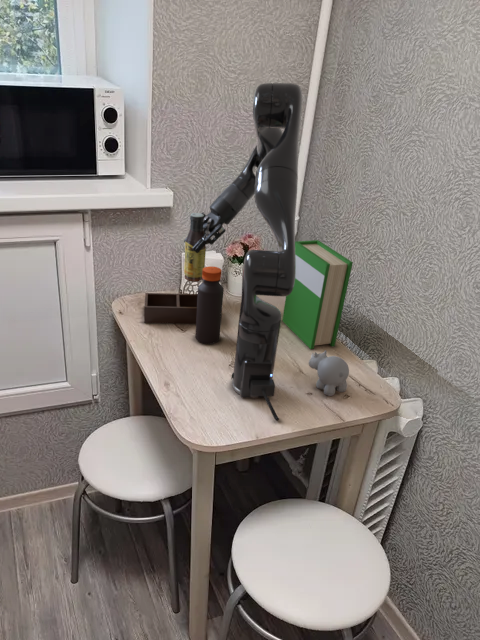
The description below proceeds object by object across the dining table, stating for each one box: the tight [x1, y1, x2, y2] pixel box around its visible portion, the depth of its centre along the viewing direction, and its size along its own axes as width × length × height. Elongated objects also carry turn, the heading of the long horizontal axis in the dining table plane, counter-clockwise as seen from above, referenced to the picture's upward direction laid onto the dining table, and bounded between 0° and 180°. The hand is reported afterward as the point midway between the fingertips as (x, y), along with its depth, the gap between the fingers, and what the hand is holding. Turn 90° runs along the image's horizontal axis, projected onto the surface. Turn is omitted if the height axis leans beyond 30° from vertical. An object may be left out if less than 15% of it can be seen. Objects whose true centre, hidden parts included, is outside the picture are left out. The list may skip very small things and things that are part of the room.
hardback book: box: [281, 239, 354, 350], centre depth 143 cm, size 18×7×24 cm, turn 18°
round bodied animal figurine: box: [308, 349, 350, 397], centre depth 125 cm, size 7×12×8 cm, turn 24°
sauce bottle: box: [183, 212, 207, 283], centre depth 157 cm, size 7×6×20 cm
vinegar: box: [194, 265, 225, 345], centre depth 139 cm, size 7×7×20 cm
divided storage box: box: [143, 292, 198, 325], centre depth 154 cm, size 10×19×5 cm, turn 92°
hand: (190, 247), depth 156 cm, fingers closed on sauce bottle, 6 cm apart
